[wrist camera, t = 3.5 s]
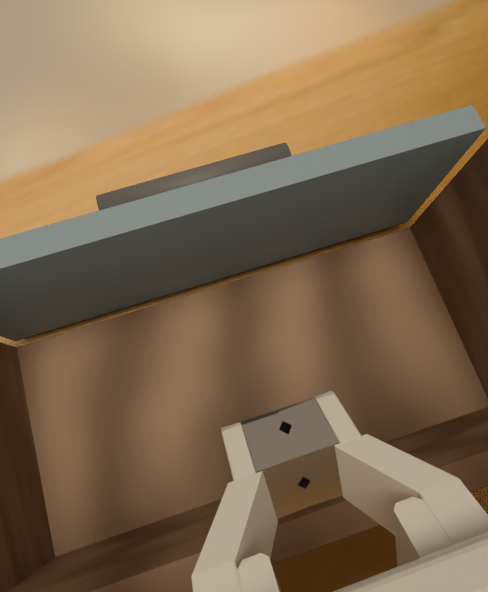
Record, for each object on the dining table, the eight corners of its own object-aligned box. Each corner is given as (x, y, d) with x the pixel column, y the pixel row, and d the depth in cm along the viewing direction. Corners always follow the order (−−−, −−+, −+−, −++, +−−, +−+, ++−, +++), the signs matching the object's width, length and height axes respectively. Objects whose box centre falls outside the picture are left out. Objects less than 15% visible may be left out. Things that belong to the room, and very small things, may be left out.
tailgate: (393, 191, 27) (462, 85, 19) (407, 222, 27) (485, 128, 18) (8, 305, 25) (-114, 246, 17) (15, 340, 25) (-108, 299, 16)
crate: (418, 230, 28) (512, 129, 18) (505, 417, 25) (673, 418, 15) (8, 355, 26) (-135, 318, 16) (47, 578, 22) (-100, 699, 13)
